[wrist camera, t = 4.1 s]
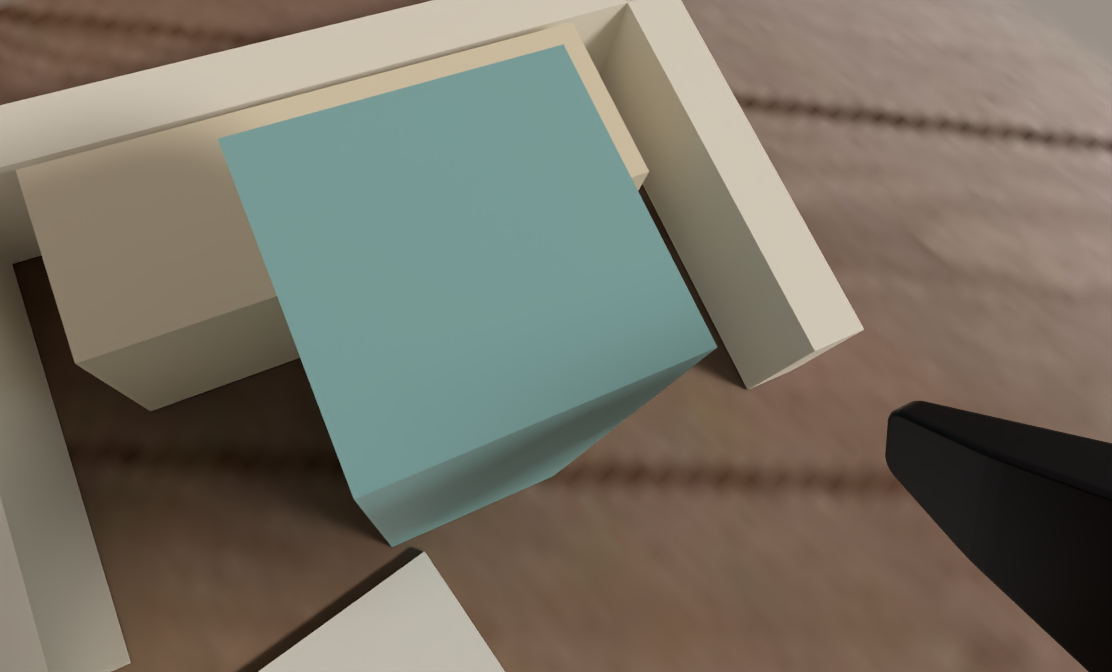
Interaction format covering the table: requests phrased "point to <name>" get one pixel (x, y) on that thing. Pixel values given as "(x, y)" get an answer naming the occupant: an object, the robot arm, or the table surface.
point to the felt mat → (395, 631)
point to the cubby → (238, 267)
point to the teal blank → (465, 283)
